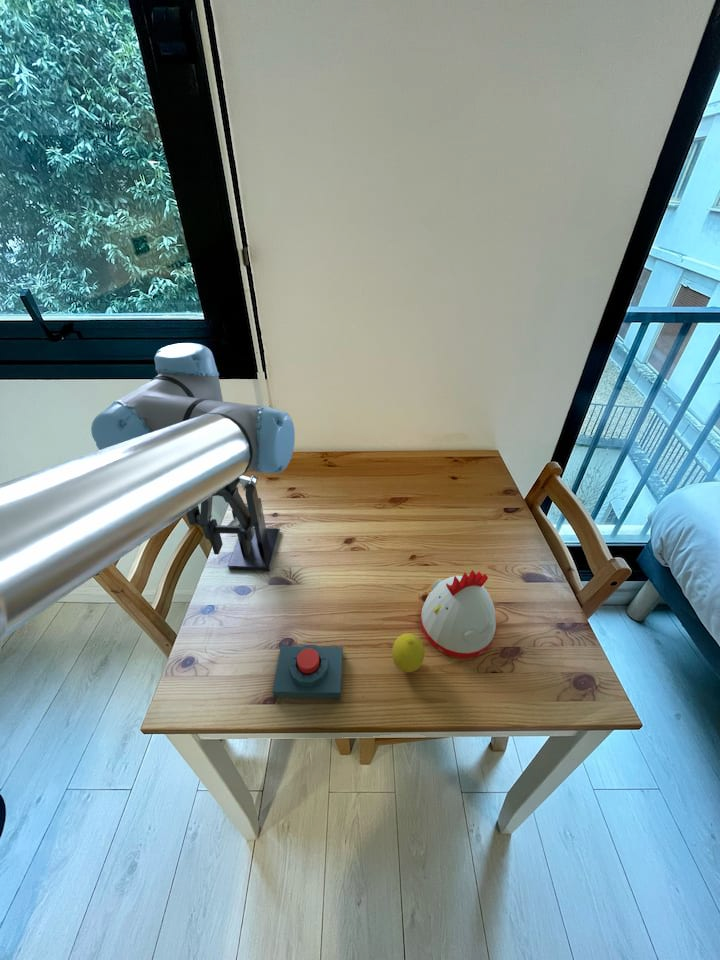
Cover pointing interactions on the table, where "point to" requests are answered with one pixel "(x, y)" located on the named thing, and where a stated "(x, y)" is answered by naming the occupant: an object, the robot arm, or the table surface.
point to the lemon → (408, 652)
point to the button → (308, 661)
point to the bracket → (256, 548)
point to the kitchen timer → (459, 616)
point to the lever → (229, 527)
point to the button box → (309, 685)
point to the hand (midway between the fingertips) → (233, 549)
